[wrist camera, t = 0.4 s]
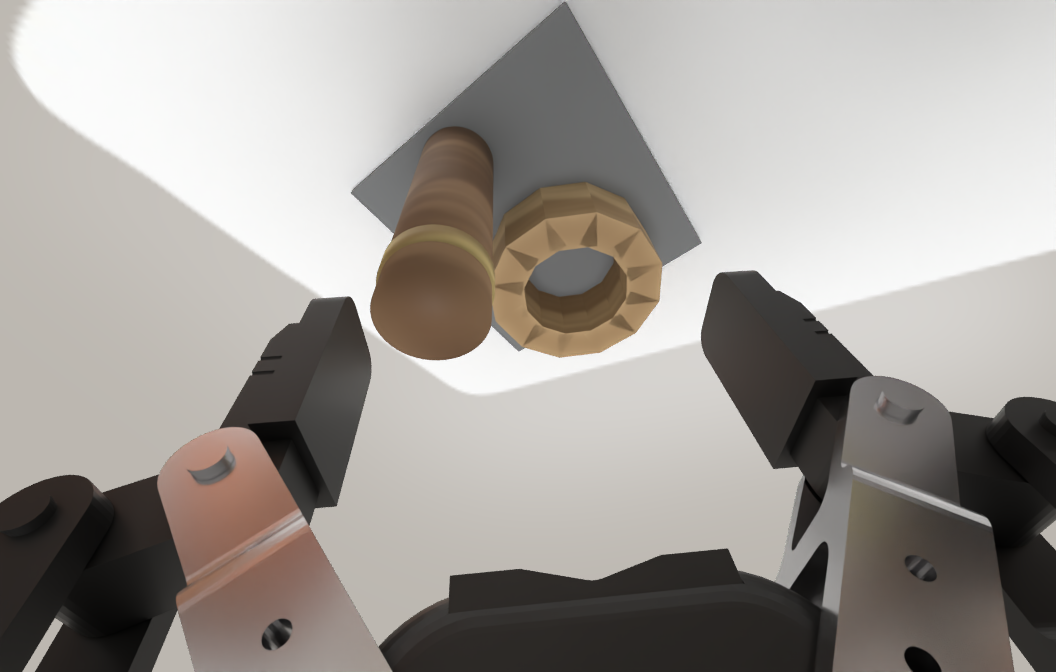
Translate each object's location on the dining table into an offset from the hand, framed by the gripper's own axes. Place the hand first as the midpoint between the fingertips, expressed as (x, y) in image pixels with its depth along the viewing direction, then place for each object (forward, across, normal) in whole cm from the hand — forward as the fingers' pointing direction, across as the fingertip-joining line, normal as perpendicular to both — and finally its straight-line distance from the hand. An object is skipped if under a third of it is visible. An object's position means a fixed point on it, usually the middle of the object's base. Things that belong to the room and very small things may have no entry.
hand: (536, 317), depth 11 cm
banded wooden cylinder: (+18, +3, +2) cm, 19 cm away
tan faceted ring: (+18, -4, +9) cm, 21 cm away
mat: (+19, -2, +6) cm, 20 cm away
